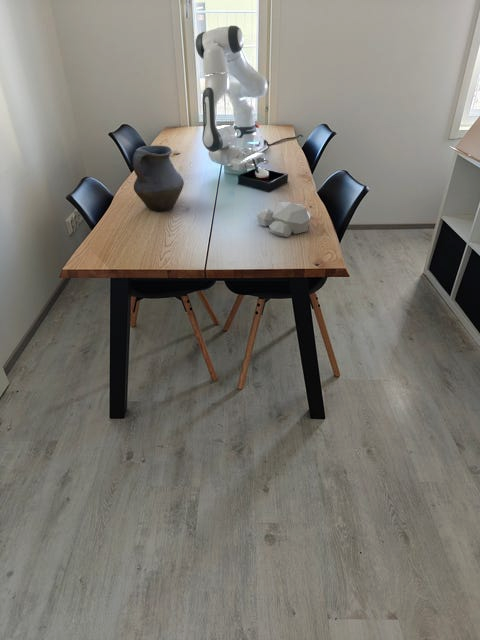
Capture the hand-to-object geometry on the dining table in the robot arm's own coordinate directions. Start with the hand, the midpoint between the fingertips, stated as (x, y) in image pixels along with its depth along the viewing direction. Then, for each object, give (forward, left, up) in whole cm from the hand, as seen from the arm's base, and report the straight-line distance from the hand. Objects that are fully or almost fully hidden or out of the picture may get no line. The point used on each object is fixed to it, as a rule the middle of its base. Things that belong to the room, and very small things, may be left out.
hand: (261, 164), depth 201 cm
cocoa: (+2, +1, -8) cm, 9 cm away
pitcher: (+49, -17, -9) cm, 53 cm away
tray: (0, +1, -9) cm, 9 cm away
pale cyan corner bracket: (-8, -19, -8) cm, 22 cm away
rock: (+34, +35, -9) cm, 50 cm away
